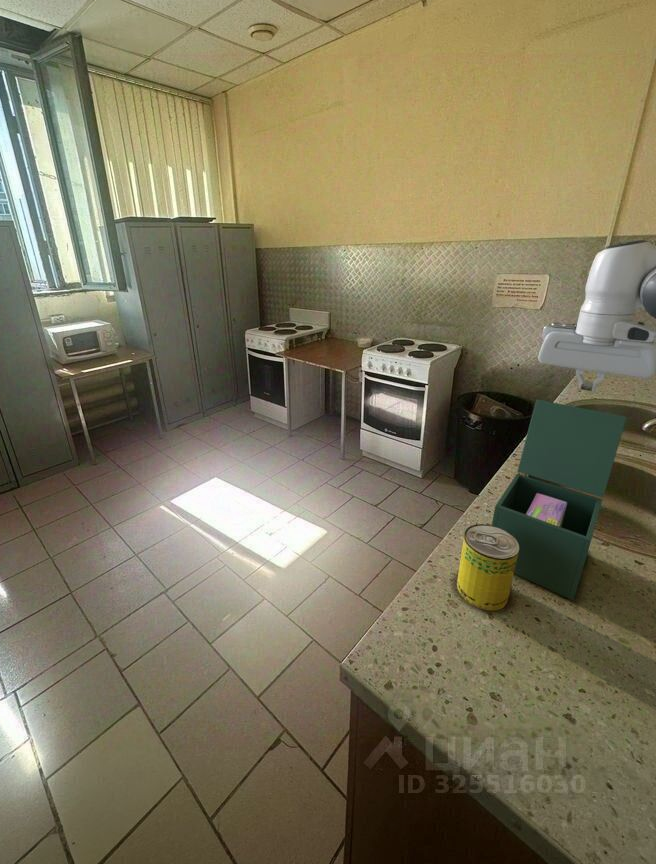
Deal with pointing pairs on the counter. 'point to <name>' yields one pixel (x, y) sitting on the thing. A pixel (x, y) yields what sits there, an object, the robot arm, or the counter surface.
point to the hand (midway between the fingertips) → (586, 389)
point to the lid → (571, 446)
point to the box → (547, 509)
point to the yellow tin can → (487, 566)
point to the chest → (548, 533)
